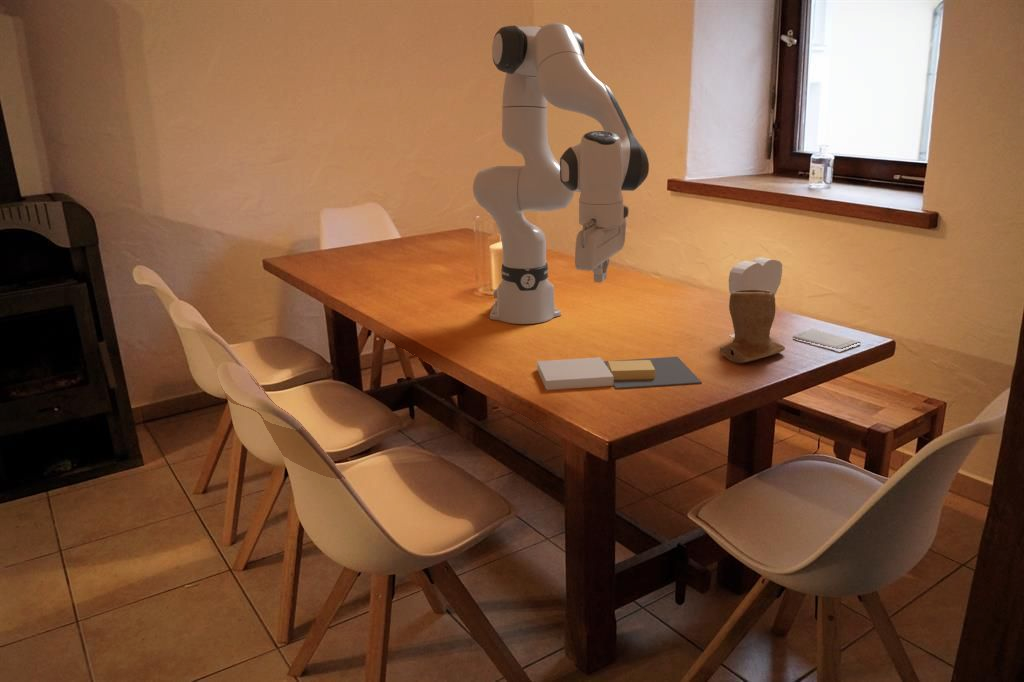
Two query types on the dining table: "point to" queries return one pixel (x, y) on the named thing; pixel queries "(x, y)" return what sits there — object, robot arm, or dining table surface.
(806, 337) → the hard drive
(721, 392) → the dining table surface
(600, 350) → the dining table surface
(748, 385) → the dining table surface
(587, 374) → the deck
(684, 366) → the mat
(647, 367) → the yellow rectangular block
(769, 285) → the heart sculpture
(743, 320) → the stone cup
